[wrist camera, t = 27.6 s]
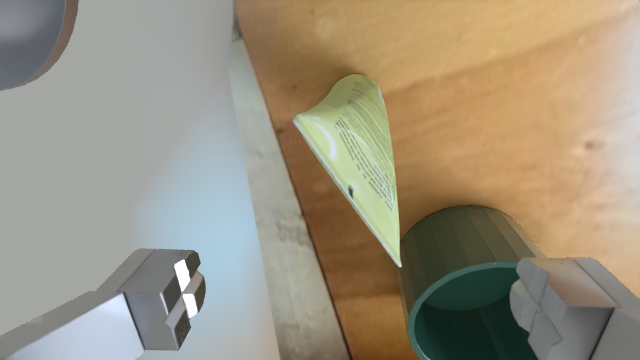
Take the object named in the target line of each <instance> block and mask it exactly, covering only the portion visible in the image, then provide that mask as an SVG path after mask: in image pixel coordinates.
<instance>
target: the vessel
mask: <svg viewBox="0 0 640 360" xmlns="http://www.w3.org/2000/svg"><path fill="white" fill-rule="evenodd" d="M522 257H527V258H548V257H547V256H546V255H545V254H544V253H543V252H542V250H541V249H540V248H539V247H538V246H537V245H536V243H535V242H534V241H533V240H532V239H531V238H530V236H529V235H528V234H527V233H526V232H525V231H524V230H523V229H522V228H521V226H520V225H519V224H518V223H517V222H516V221H514V220H513V219H512V218H510V217H509V216H507V215H506V214H504V213H502V212H499V211H497V210H494V209H491V208H486V207H481V206H458V207H452V208H448V209H444V210H441V211H438V212H436V213H433V214H431V215H429V216H427V217H426V218H424V219H423V220H421V221H420V222H418V223H417V224H416V225H415V226H413V227H412V228H411V229H410V231H409V232H408V233H407V234H406V235H405V237H404V238H403V240H402V242H401V244H400V260H401V264H402V267H398V265H397V264H396V274H397V279H398V285H399V290H400V296H401V301H402V307H403V313H404V318H405V324H406V329H407V334H408V338H409V341H410V345H411V347H412V348H413V350H414V351H415V353H416V354H417V355H418V357H419V358H420V359H421V360H538V358H537V356H536V355H535V353H534V351H533V350H532V348H531V346H530V344H529V343H528V338H529V335H530V333H529V332H527V331H526V330H525V329H523V328H522V327H520V326H519V325H518V324H517V322H516V320H515V318H514V316H513V314H512V311H511V308H510V298H509V295H510V291H511V286H512V284H514V283H515V282H516V281H517V280H518V279H520V277H519V275H518V274H517V272H516V268H517V264H518V262H519V261H520V259H521V258H522Z"/></svg>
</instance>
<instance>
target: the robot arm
mask: <svg viewBox="0 0 640 360" xmlns="http://www.w3.org/2000/svg"><path fill="white" fill-rule="evenodd" d="M199 265H200V259H199V255H198V253H197V252H195V251H193V250H172V249H142V248H141V249H138V250H135V251H134V252H133V253H132V254H131V255H130V256H129V257H128V258H127V259H126V260H125V261H124V262H123V263H122V264H121V265H120V266H119V267H118V269H117V270H116V271H115V272H114V273H113V274H112V275H111V276H110V277H109V278H108V279H107V280H106V281H105V282H104V283H103V284H102V285H101V286H100V287H99V288H98V289H97V290H96V291H95V292H94V291H89V292H87V293H85V294H83V295H81V296H79V297H77V298H75V299H73V300H71V301H69V302H67V303H65V304H63V305H61V306H59V307H57V308H55V309H53V310H51V311H49V312H47V313H45V314H43V315H41V316H39V317H37V318H35V319H33V320H31V321H29V322H27V323H25V324H23V325H21V326H19V327H17V328H15V329H13V330H11V331H9V332H7V333H5V334H3V335H1V336H0V360H136V359H137V358H138V357H139V356H140V355H142V354H143V353H144V352H145V351H144V350H177V351H178V350H179V349H180V347H181V345H182V343H183V341H184V339H185V338H186V336H187V334H188V332H189V330H190V328H191V326H190V322H189V319H191V318H192V317H194V316H195V315H196V314H198V313H199V311H200V309H201V307H202V305H203V302H204V297H205V292H206V291H205V290H206V287H205V280H204V276H203V275H202V274H201V273H200V272H199V271H197V268H198V267H199ZM516 272H517V274H518V275H519V277H520V279H518V280H517V281H516V282H515V283H514V284H512V286H511V291H510V295H509V298H510V308H511V311H512V314H513V316H514V318H515V320H516V322H517V324H518V325H519V326H520V327H522V328H523V329H525V330H526V331H527V332H529V333H530V335H529V338H528V343H529V344H530V346H531V348H532V350H533V351H534V353H535V355H536V356H537V358H538V360H640V299H639V298H638V297H636V296H635V295H634V294H633V293H632V292H631V291H630V290H629V289H628V288H627V287H626V286H624V285H623V284H622V283H621V282H620V281H619V280H618V279H617V278H616V277H615V276H614V275H613V274H611V273H610V272H609V271H608V270H607V269H606V268H605V267H604V266H603V265H602V264H601V263H600V262H598V261H597V260H595V259H593V258H590V257H567V258H527V257H522V258H521V259H520V261H519V262H518V264H517V268H516Z"/></svg>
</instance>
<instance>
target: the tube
mask: <svg viewBox="0 0 640 360" xmlns="http://www.w3.org/2000/svg"><path fill="white" fill-rule="evenodd" d="M292 122H293V123H294V124H295V126H296V127H297V128H298V130H299V131H300V132H301V134H302V136H303V138H304V139H305V141H306V142H307V144H308V146H309V147H310V149H311V150H312V151H313V153H314V154H315V156H316V157H317V159H318V160H319V161H320V163H321V164H322V166H323V167H324V168H325V170H326V171H327V173H328V174H329V175H330V177H331V178H332V180H333V181H334V182H335V184H336V185H337V186H338V188H339V189H340V190H341V191H342V193H343V194H344V196H345V197H346V198H347V200H348V201H349V202H350V204H351V205H352V207H353V208H354V209H355V211H356V212H357V213H358V214H359V216H360V217H361V219H362V220H363V221H364V223H365V224H366V225H367V226H368V228H369V229H370V230H371V232H372V233H373V234H374V235H375V236H376V238H377V239H378V240H379V241H380V243H381V244H382V246H383V247H384V249H385V250H386V251H387V253H388V254H389V255H390V257H391V258H392V259H393V261H394V262H395V263H396V264H397V265H398V267H402V264H401V260H400V243H399V215H398V202H397V190H396V179H395V169H394V160H393V152H392V144H391V137H390V130H389V124H388V118H387V113H386V108H385V104H384V100H383V96H382V93H381V90H380V88H379V86H378V85H377V84H376V83H375V82H374V81H373V80H372V79H371V78H369V77H367V76H365V75H360V74H353V75H348V76H346V77H344V78H342V79H340V80H339V81H338V82H337V83H336V84H335V85H334V86H333V88H332V89H331V91H330V92H329V94H328V95H327V96H326V97H325V98H324V99H323V100H322V101H321V102H320V103H319V104H317V105H316V106H314V107H313V108H311V109H309V110H307V111H305V112H301V113H298V114H296V115H295V116H294V117H293V119H292Z"/></svg>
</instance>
